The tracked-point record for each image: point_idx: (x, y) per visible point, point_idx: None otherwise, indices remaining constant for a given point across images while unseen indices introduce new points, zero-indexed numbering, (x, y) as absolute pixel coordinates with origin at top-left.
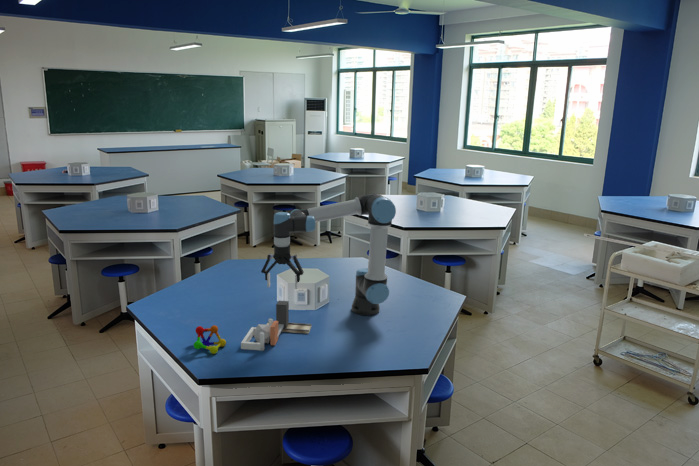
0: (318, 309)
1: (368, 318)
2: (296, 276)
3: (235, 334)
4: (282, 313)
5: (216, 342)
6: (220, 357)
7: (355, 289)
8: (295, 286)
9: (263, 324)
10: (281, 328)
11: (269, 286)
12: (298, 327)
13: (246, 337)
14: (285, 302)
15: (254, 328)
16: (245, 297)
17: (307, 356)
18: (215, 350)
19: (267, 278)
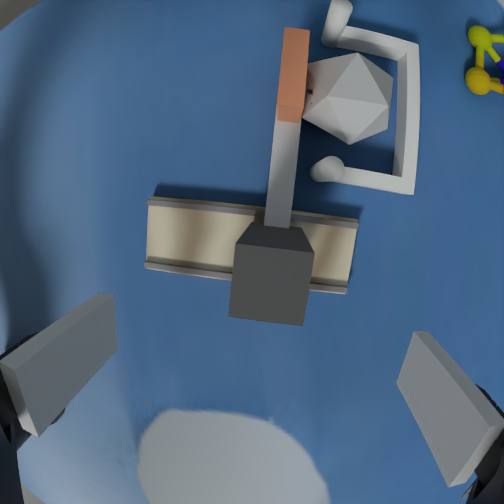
0: (156, 414)
1: (12, 329)
2: (2, 359)
3: (457, 179)
4: (268, 235)
5: (493, 78)
6: (446, 13)
7: (17, 429)
8: (96, 304)
9: (360, 100)
10: (269, 175)
11: (408, 354)
12: (197, 238)
13: (412, 86)
14: (247, 292)
15: (399, 177)
16: (411, 470)
17: (151, 17)
18: (473, 26)
19: (475, 390)
